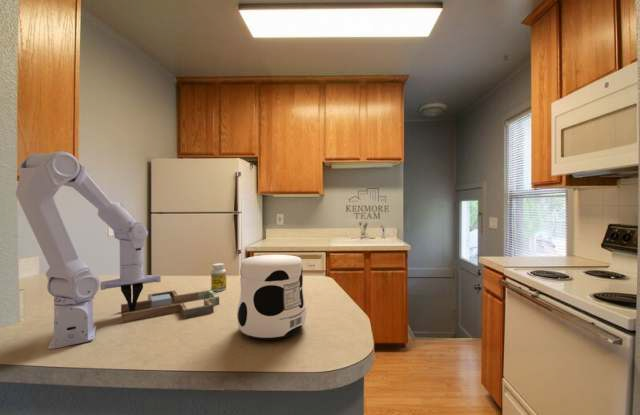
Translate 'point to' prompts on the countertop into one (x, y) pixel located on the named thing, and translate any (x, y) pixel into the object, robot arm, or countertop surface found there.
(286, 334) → the milk container
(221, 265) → the supplement bottle
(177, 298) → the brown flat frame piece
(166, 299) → the block
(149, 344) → the countertop surface
